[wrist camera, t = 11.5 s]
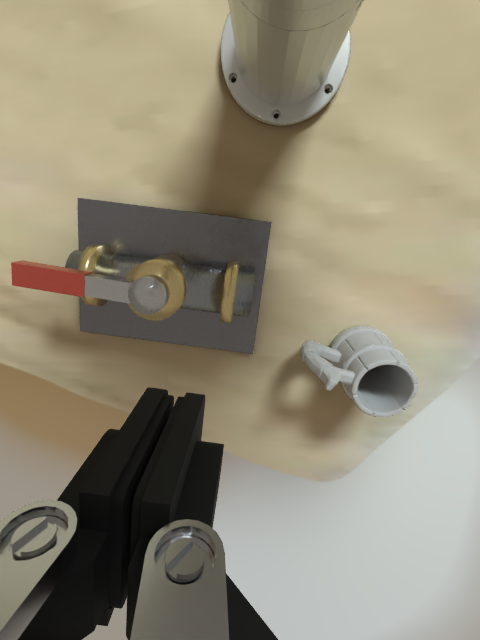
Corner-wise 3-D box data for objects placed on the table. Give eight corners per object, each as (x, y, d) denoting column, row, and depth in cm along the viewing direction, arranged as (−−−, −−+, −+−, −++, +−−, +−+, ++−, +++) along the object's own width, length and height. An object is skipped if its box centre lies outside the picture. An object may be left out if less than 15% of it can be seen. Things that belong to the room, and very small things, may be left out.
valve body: (81, 198, 39) (40, 194, 32) (271, 222, 39) (273, 223, 32) (83, 329, 44) (48, 351, 37) (252, 351, 44) (251, 378, 36)
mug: (376, 385, 44) (417, 445, 33) (287, 364, 44) (297, 415, 32) (398, 331, 42) (451, 374, 30) (304, 308, 42) (322, 342, 30)
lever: (171, 277, 33) (167, 280, 32) (167, 312, 34) (163, 317, 33) (22, 253, 33) (11, 255, 32) (23, 289, 34) (12, 292, 33)
